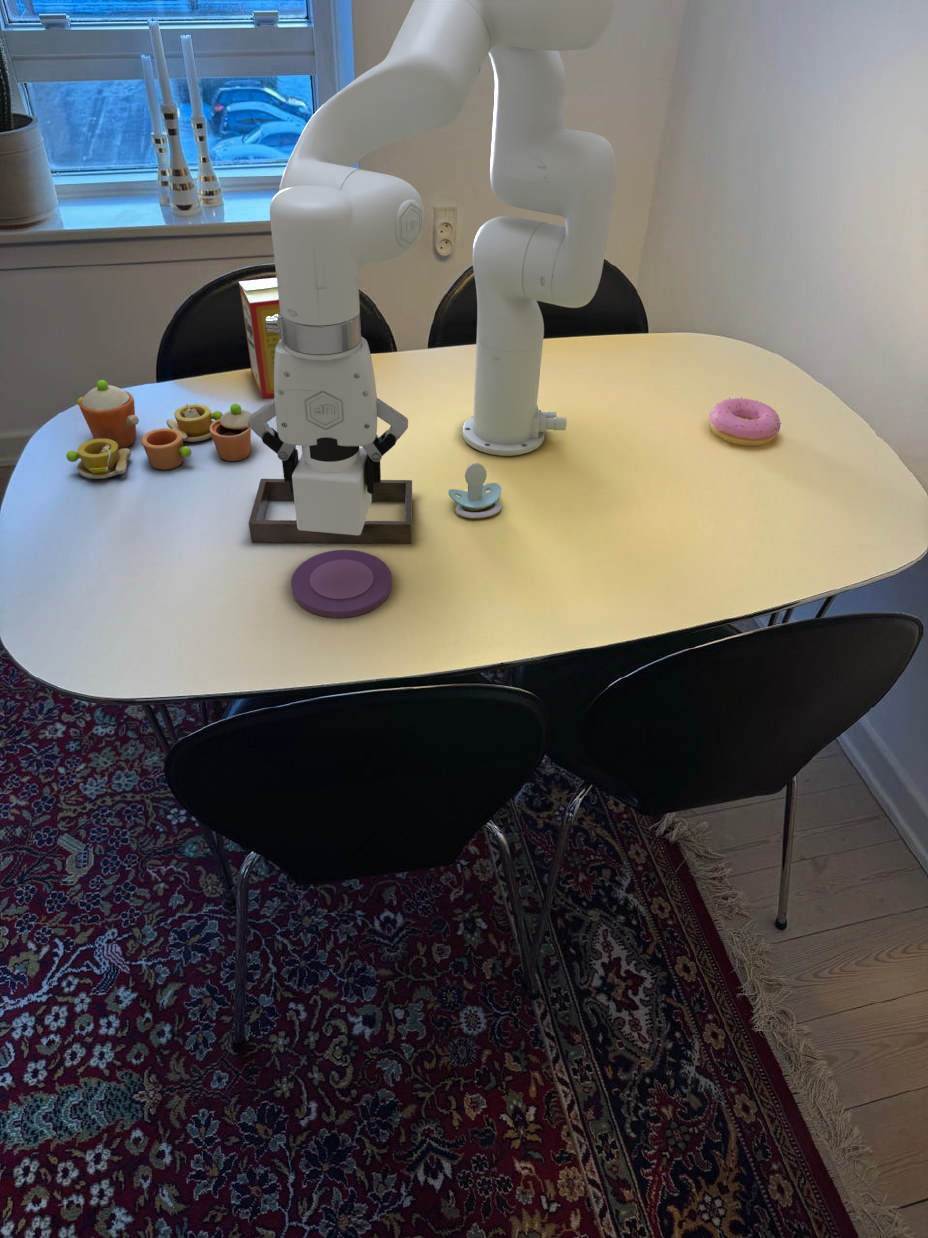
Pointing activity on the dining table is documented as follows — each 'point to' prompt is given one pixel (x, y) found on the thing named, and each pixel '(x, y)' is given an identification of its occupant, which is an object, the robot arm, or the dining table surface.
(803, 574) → the dining table surface
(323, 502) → the medicine bottle
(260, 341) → the baking soda box
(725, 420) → the doughnut
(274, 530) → the frame
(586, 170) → the robot arm
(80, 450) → the toy tea set
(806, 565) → the dining table surface
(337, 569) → the lid
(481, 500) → the pacifier
